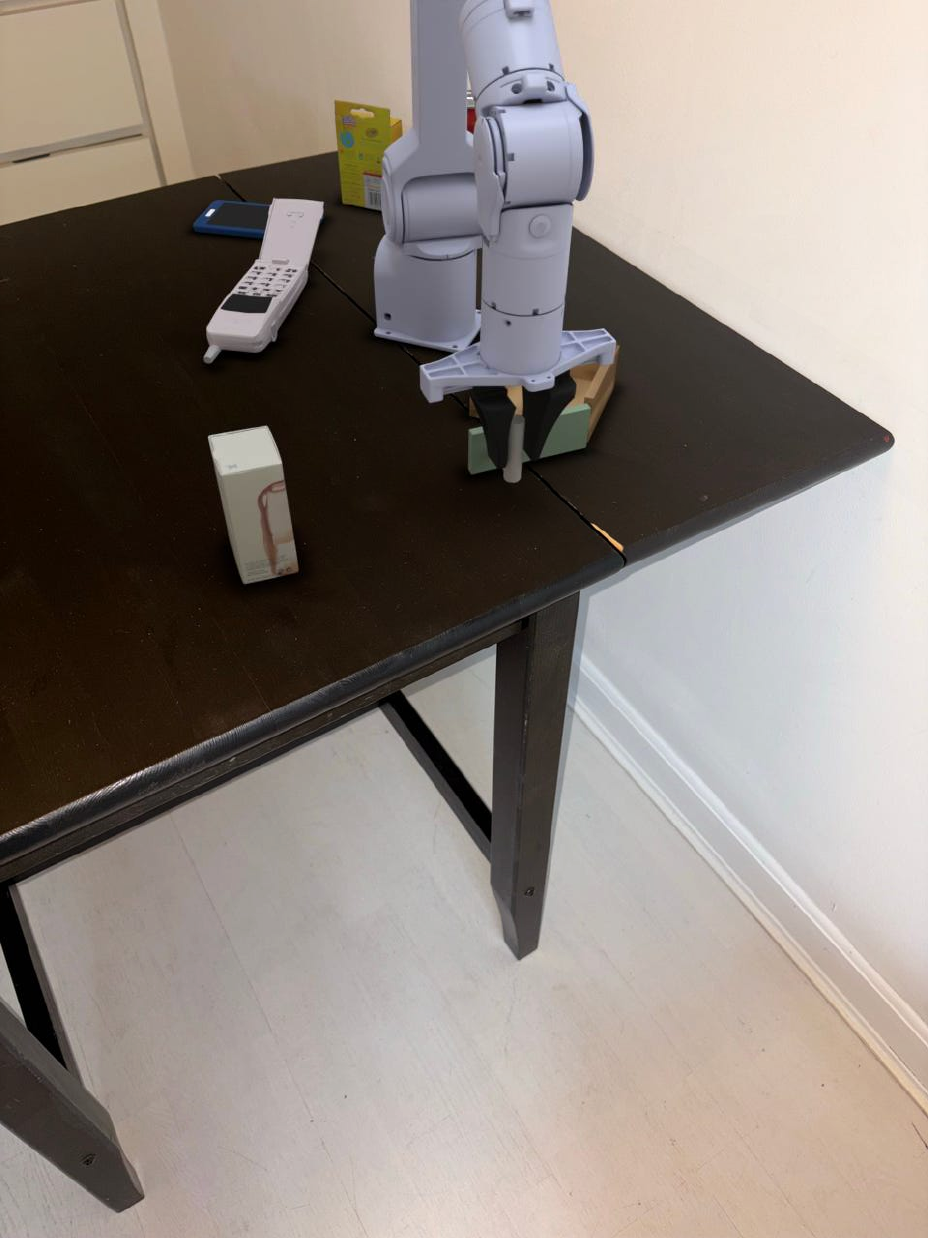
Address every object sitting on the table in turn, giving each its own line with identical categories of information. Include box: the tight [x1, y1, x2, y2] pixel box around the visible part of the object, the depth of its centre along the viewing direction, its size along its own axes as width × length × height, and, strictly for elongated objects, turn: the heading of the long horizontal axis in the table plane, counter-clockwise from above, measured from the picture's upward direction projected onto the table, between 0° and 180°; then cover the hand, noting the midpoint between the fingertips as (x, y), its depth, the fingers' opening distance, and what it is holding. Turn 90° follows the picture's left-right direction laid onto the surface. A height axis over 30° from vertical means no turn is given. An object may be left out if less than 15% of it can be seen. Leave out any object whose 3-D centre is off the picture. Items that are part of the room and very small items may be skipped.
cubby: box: [469, 344, 621, 443], centre depth 85 cm, size 11×9×4 cm
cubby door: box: [467, 403, 591, 484], centre depth 77 cm, size 11×5×7 cm, turn 111°
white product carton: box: [207, 425, 299, 585], centre depth 69 cm, size 5×4×10 cm
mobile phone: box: [202, 197, 325, 364], centre depth 96 cm, size 6×6×25 cm
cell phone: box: [192, 199, 325, 240], centre depth 111 cm, size 7×14×1 cm, turn 79°
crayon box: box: [333, 99, 404, 212], centre depth 111 cm, size 7×3×12 cm, turn 66°
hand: (513, 457), depth 74 cm, fingers closed
